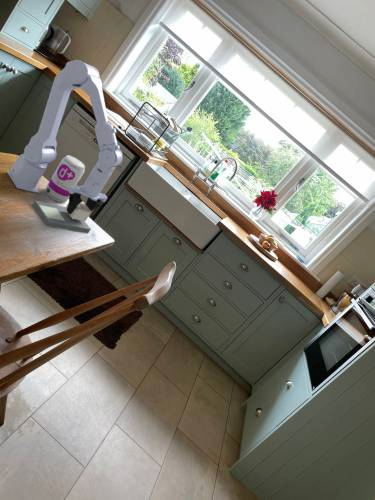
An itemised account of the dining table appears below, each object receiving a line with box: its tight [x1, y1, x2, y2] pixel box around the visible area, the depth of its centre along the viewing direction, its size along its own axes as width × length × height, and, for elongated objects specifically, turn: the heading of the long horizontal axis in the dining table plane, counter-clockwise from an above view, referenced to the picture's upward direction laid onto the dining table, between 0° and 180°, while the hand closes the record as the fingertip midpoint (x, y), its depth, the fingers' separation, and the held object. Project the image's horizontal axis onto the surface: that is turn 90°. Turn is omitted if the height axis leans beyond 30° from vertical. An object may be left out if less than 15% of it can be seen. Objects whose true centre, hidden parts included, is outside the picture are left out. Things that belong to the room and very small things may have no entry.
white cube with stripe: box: [65, 201, 92, 222], centre depth 126 cm, size 5×5×4 cm
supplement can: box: [45, 154, 86, 203], centre depth 133 cm, size 8×8×15 cm
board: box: [32, 200, 91, 234], centre depth 124 cm, size 11×16×2 cm
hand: (75, 213), depth 127 cm, fingers closed on white cube with stripe, 5 cm apart
